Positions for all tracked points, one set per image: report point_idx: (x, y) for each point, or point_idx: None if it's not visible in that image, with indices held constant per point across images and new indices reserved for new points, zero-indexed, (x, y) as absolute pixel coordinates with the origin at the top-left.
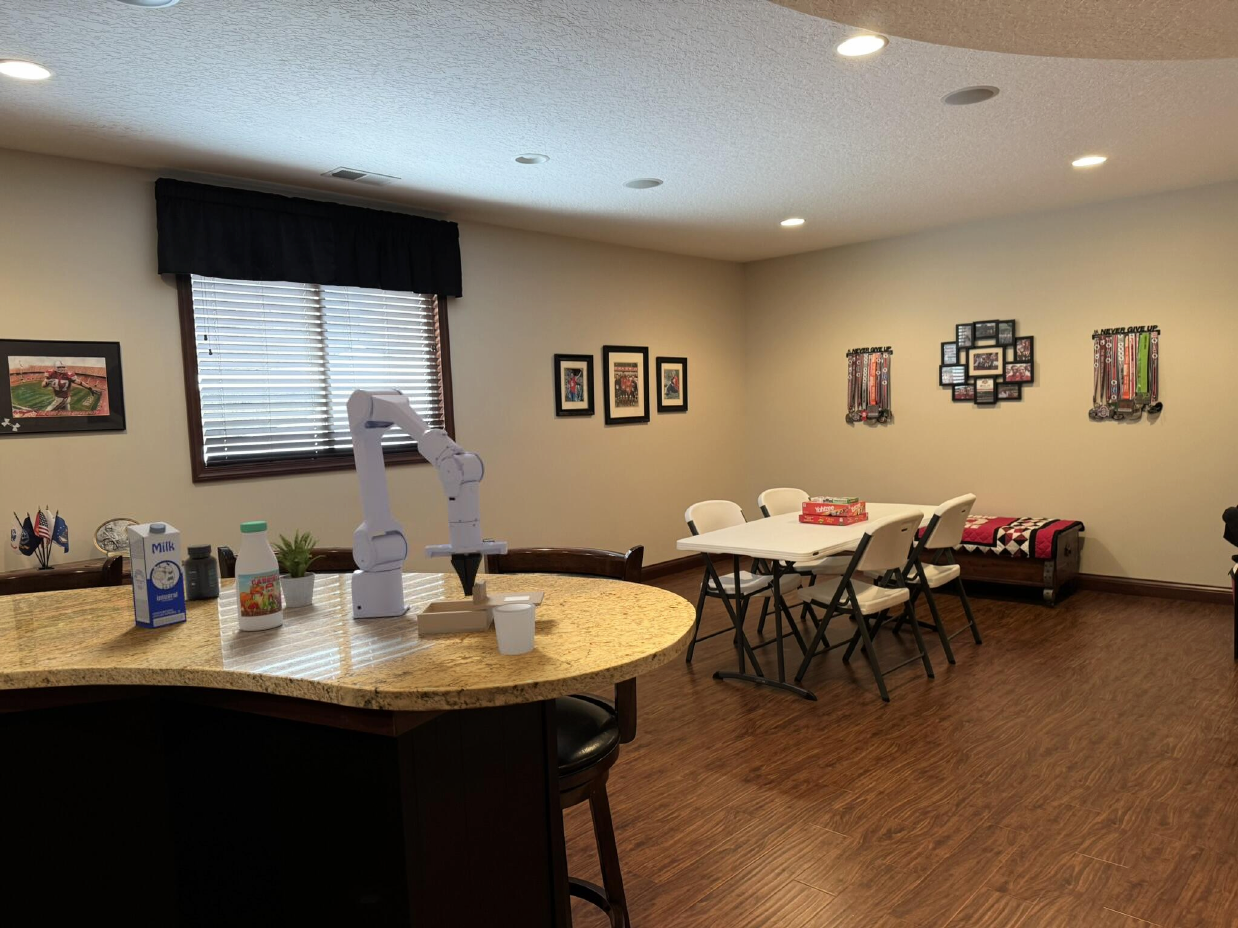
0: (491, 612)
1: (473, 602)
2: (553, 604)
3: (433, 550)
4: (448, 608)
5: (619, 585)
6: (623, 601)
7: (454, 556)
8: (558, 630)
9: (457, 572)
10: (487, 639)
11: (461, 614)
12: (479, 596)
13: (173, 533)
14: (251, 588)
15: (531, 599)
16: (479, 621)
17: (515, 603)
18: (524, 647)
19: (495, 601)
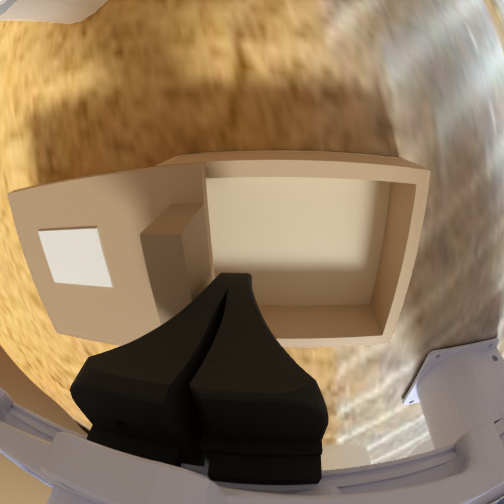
0: None
1: (200, 206)
2: None
3: (467, 479)
4: (328, 323)
5: (74, 412)
6: (21, 336)
7: (294, 464)
8: (23, 150)
9: (272, 340)
10: (160, 59)
11: (254, 158)
12: (163, 215)
13: None
14: None
15: (37, 242)
16: (191, 157)
17: (7, 1)
18: None
19: (127, 239)
